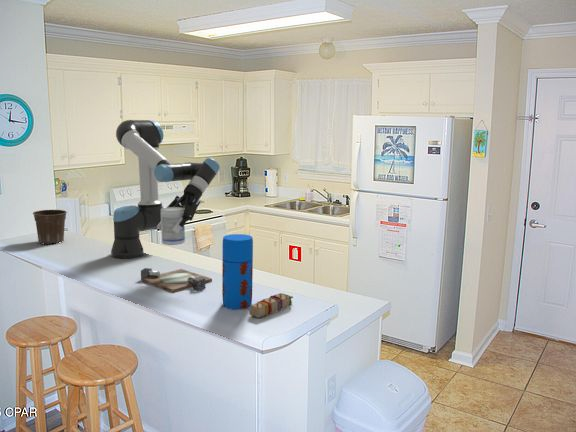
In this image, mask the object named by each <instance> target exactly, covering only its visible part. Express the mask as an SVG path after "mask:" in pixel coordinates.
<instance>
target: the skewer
mask: <svg viewBox="0 0 576 432" xmlns="http://www.w3.org/2000/svg"><path fill="white" fill-rule="evenodd" d="M293 298H294V297H293V296H291V295H289V294H286V293H281V292H280V293H276V294H273V295H270V296H269V297H267V298H263V299H261V300H259V301H256V303H254V304H253V303H252V305H250V307H248V310H249V312H248V313H249V316H252V317H254V318H255V317H256V318H262V317H264V316H268V315H270V314H273V313H276V311H277V312H278V311H279V312H280V311H282V310H284V309H288V307H290V306H292V305H293V304H292V303H293V301H292V299H293Z"/></svg>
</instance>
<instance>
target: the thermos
mask: <svg viewBox="0 0 576 432" xmlns="http://www.w3.org/2000/svg"><path fill="white" fill-rule="evenodd" d="M221 262H222V270H221V271H222V272H221V273H222V275H221V277H222V280H221V281H222V289H221V290H222V293H221V294H222V306H223V307H224V308H227V309H230V310H244V309H249V308H250V305H253V273H254V272H253V270H254V269H253V268H254V266H253V265H254V264H253V263H254V239H253V236H252V235H249V234H242V233H240V234H239V233H237V234H235V233H233V234H225V236H224V235H223V237H222V261H221Z"/></svg>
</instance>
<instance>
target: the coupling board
mask: <svg viewBox="0 0 576 432" xmlns="http://www.w3.org/2000/svg"><path fill="white" fill-rule="evenodd" d="M189 277H192V278H199V277H202V278H205V284H207V283H211V282H213V278H211V277H208V276H205V275H202V274H199V273H195V272H192V271H189V270H186V269H182V268H180V269H175V270H171V271H168V272H164V273H160V276H159V277H148V278H143V279H142V280H141V281H142V283H144V284H145V283H146V284H149V285H151V286H154V287H156V288H158V289H163V290H164V291H167V292H171V293H176V292H179V291H183V290H187V289H189V288H193V284H191V283H188V278H189Z"/></svg>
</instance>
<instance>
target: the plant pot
mask: <svg viewBox="0 0 576 432" xmlns="http://www.w3.org/2000/svg"><path fill="white" fill-rule="evenodd" d="M67 213H68V211H66V210H64V209H42V210H36V211H33V212H32V215H33V217H34V222H35V227H36V233H37V239H38V243H39V242H40V243H45V244H44V245H49V244H50V245H53V244H52V243H59V242H62V241H63V242H64V241H65V227H66V225H65V222H66V218H67ZM63 242H62V243H63ZM40 243H39V244H40ZM59 244H60V243H59Z"/></svg>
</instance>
